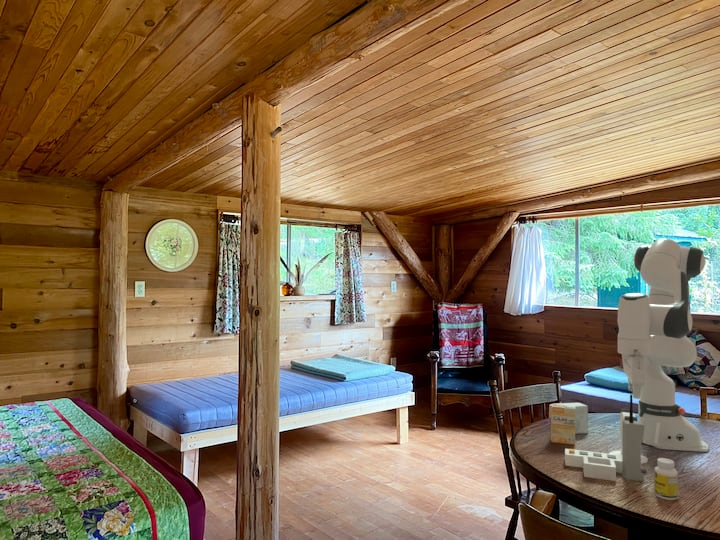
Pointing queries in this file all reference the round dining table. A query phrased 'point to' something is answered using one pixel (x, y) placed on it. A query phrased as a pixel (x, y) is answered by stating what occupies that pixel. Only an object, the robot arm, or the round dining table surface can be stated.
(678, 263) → the robot arm
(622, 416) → the white holder
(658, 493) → the supplement bottle
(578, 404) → the skincare box
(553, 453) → the round dining table surface
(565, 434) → the supplement box
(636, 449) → the vintage mobile phone
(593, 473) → the charging dock
